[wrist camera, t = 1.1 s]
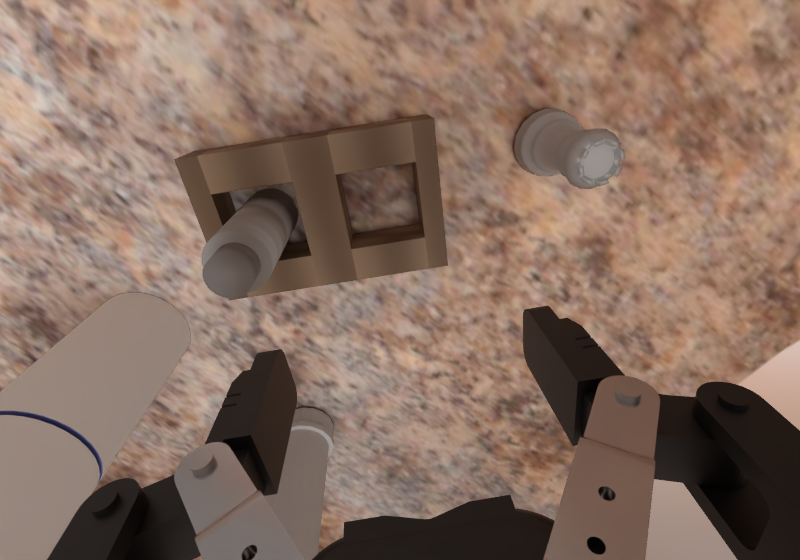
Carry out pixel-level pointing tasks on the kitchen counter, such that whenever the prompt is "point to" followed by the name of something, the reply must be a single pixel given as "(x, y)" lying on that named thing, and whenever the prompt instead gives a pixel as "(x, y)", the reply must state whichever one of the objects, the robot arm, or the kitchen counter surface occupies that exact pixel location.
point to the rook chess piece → (567, 149)
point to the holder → (311, 208)
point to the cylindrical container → (79, 415)
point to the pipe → (304, 479)
